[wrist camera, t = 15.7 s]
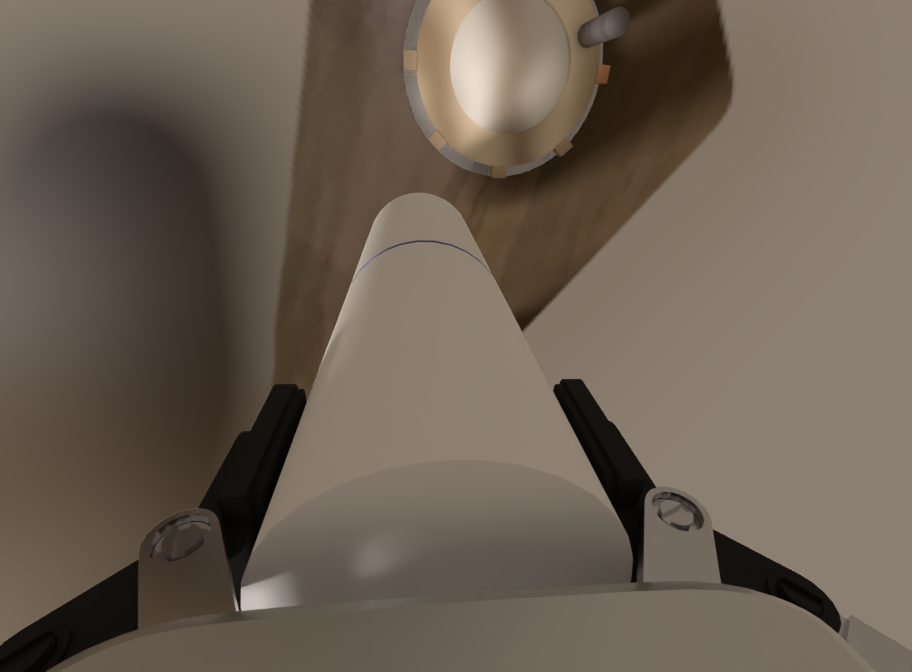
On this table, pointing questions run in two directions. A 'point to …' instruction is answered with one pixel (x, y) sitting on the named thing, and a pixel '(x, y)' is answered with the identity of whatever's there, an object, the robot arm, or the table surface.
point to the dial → (510, 74)
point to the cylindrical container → (430, 443)
